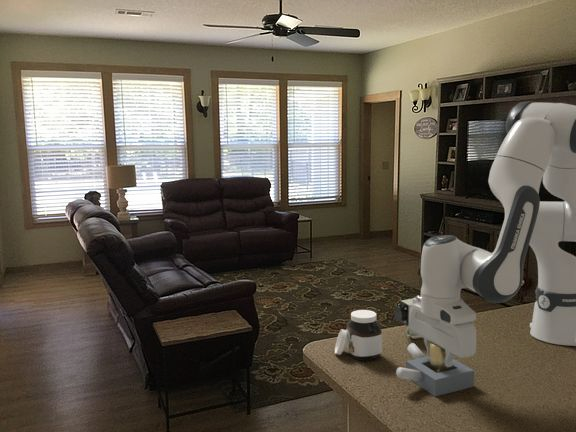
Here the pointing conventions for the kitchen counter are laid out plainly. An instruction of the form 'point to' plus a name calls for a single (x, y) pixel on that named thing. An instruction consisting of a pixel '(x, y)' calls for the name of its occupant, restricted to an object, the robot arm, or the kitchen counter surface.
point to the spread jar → (361, 336)
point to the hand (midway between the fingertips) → (439, 361)
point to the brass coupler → (437, 358)
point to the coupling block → (435, 374)
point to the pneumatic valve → (405, 316)
